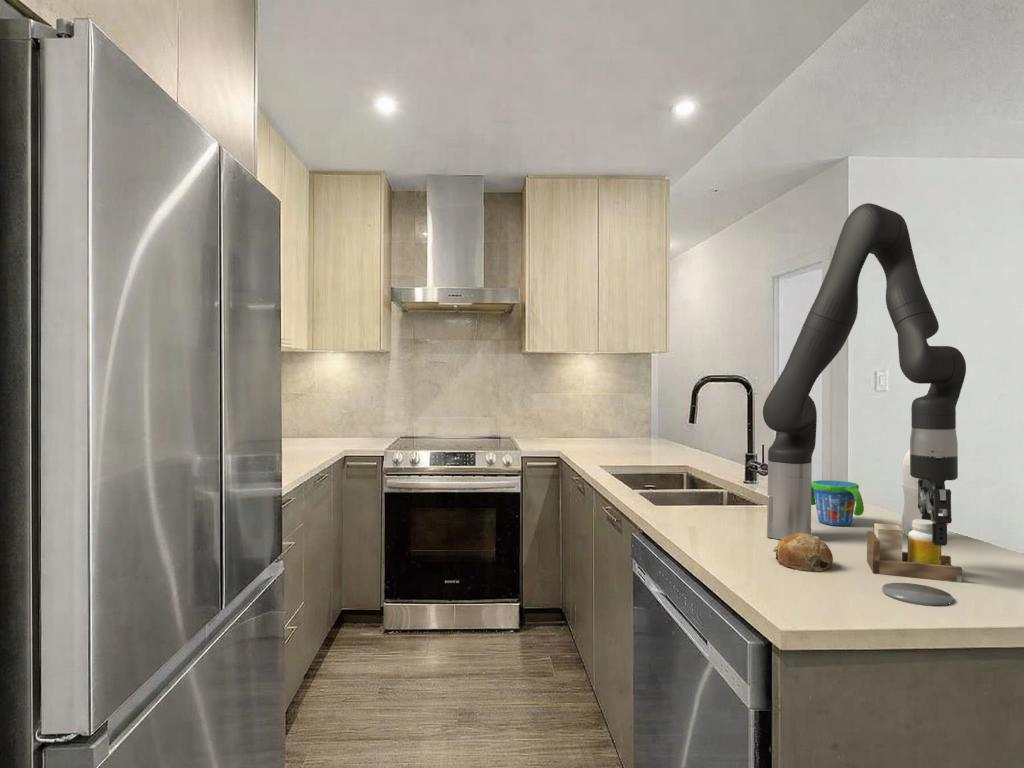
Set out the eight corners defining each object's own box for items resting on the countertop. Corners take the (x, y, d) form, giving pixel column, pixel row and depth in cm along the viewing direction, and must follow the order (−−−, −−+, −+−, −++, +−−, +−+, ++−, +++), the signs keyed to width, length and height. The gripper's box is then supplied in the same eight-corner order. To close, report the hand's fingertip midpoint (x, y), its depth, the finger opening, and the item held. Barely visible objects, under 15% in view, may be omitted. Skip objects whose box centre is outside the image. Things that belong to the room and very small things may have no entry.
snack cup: (796, 517, 173) (796, 478, 173) (831, 516, 175) (831, 477, 175) (837, 531, 158) (838, 488, 157) (876, 529, 160) (876, 487, 160)
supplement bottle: (903, 567, 128) (903, 517, 128) (934, 569, 127) (934, 519, 127) (913, 575, 123) (914, 523, 123) (946, 577, 122) (946, 525, 121)
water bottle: (943, 541, 148) (945, 429, 148) (908, 539, 150) (910, 428, 150) (930, 534, 156) (931, 427, 155) (896, 532, 157) (898, 426, 157)
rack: (873, 573, 124) (873, 530, 124) (866, 560, 132) (867, 520, 132) (961, 582, 119) (962, 537, 119) (949, 568, 127) (949, 527, 127)
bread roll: (798, 591, 125) (814, 557, 121) (759, 556, 133) (773, 523, 130) (833, 584, 129) (849, 551, 126) (793, 550, 137) (808, 518, 134)
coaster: (887, 601, 108) (887, 597, 108) (878, 583, 118) (878, 580, 118) (959, 609, 105) (959, 605, 105) (944, 590, 114) (944, 586, 114)
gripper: (902, 448, 132) (903, 530, 132) (918, 456, 119) (919, 547, 119) (947, 449, 130) (947, 533, 130) (968, 457, 116) (968, 550, 116)
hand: (933, 539), depth 124 cm, fingers open, 8 cm apart
